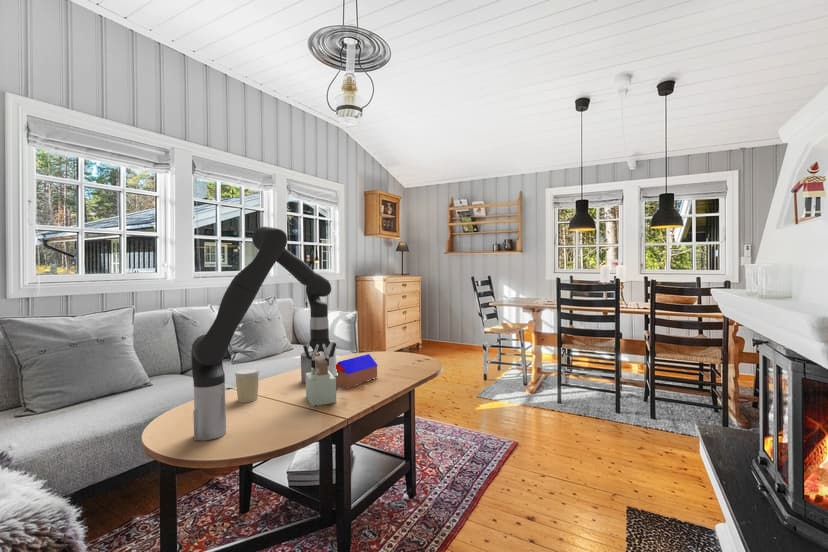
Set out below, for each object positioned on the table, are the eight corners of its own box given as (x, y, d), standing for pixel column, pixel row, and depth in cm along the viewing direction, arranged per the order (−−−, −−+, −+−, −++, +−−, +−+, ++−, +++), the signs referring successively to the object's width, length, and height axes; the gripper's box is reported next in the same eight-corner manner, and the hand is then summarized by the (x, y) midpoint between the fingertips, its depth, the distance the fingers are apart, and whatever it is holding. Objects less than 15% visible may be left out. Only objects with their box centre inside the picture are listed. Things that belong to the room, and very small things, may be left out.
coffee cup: (251, 394, 173) (251, 367, 173) (264, 398, 168) (263, 370, 168) (231, 400, 166) (230, 372, 165) (243, 404, 160) (243, 375, 160)
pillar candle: (319, 377, 200) (318, 347, 199) (323, 381, 191) (322, 351, 190) (299, 379, 196) (298, 349, 195) (302, 384, 187) (301, 353, 186)
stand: (311, 406, 157) (310, 376, 157) (306, 396, 170) (305, 368, 169) (336, 402, 161) (335, 373, 161) (329, 392, 174) (328, 365, 174)
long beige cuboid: (319, 375, 158) (318, 363, 158) (313, 367, 171) (312, 356, 170) (327, 374, 159) (327, 362, 159) (321, 366, 172) (321, 355, 172)
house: (378, 378, 196) (377, 355, 196) (347, 388, 180) (347, 363, 180) (361, 375, 203) (360, 352, 203) (330, 384, 188) (330, 359, 187)
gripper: (303, 329, 158) (304, 372, 159) (338, 327, 164) (339, 368, 165) (300, 327, 165) (301, 367, 166) (334, 325, 171) (335, 364, 171)
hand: (320, 367), depth 165 cm, fingers open, 4 cm apart
